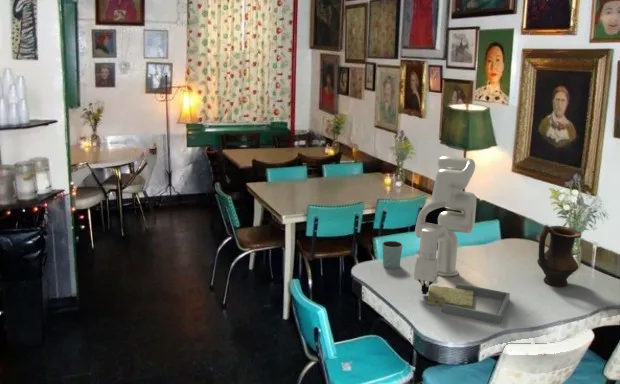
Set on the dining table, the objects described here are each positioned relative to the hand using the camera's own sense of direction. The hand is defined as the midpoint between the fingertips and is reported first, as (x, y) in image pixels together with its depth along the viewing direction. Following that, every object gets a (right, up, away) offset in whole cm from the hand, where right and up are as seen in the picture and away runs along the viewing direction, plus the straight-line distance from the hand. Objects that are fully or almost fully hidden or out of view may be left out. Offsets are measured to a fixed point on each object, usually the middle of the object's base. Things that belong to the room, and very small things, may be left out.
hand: (424, 293), depth 281 cm
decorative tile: (+11, -3, -4) cm, 12 cm away
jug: (+66, +2, +19) cm, 69 cm away
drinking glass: (-11, +8, +37) cm, 39 cm away
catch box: (+21, -4, -9) cm, 23 cm away
